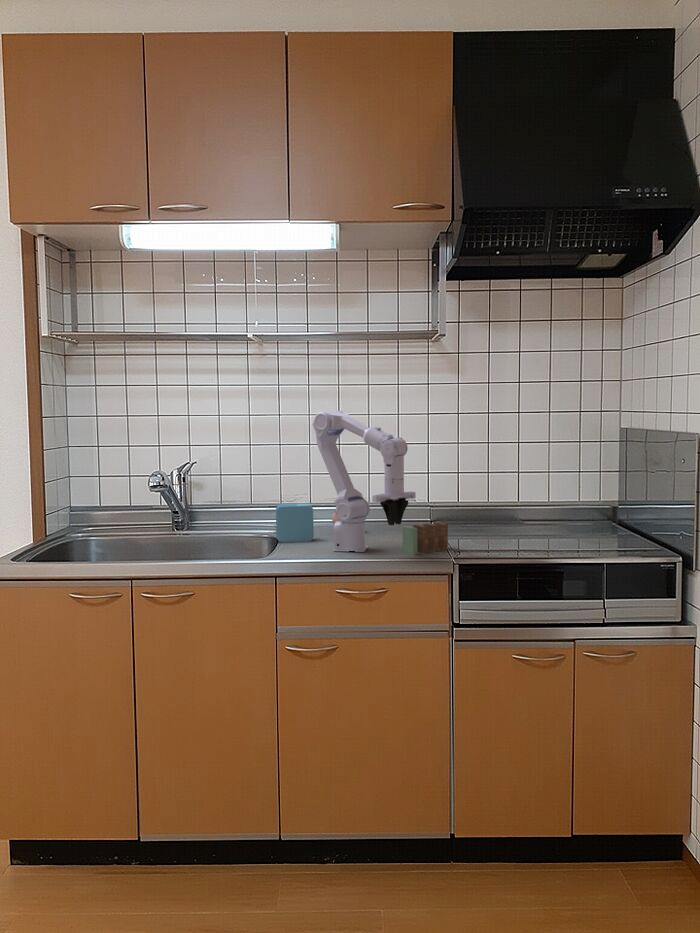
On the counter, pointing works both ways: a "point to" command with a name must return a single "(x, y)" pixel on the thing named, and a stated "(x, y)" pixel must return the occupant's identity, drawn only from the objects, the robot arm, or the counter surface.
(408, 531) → the green domino
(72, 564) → the counter surface
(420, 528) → the walnut domino
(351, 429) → the robot arm
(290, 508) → the blue square slab
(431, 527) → the walnut domino
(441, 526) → the walnut domino
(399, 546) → the counter surface
